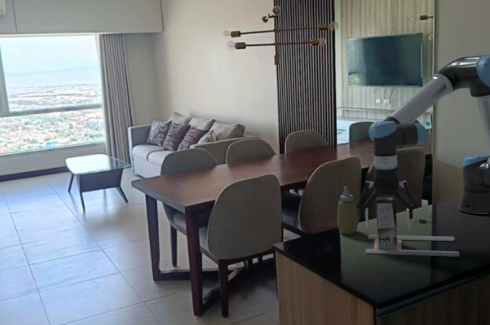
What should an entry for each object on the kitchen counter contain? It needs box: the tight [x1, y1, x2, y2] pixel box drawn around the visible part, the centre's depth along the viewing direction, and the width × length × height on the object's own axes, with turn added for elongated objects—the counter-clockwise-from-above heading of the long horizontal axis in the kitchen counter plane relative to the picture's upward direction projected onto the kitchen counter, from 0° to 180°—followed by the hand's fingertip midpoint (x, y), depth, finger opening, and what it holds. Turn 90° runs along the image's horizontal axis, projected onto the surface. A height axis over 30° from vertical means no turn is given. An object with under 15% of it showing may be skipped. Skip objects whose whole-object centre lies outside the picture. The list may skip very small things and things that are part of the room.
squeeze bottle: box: [336, 185, 359, 235], centre depth 189 cm, size 8×8×18 cm
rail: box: [365, 234, 460, 257], centre depth 171 cm, size 29×16×1 cm, turn 73°
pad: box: [373, 239, 402, 250], centre depth 173 cm, size 9×11×1 cm
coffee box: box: [375, 196, 398, 249], centre depth 172 cm, size 9×6×16 cm
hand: (387, 227), depth 172 cm, fingers open, 13 cm apart
